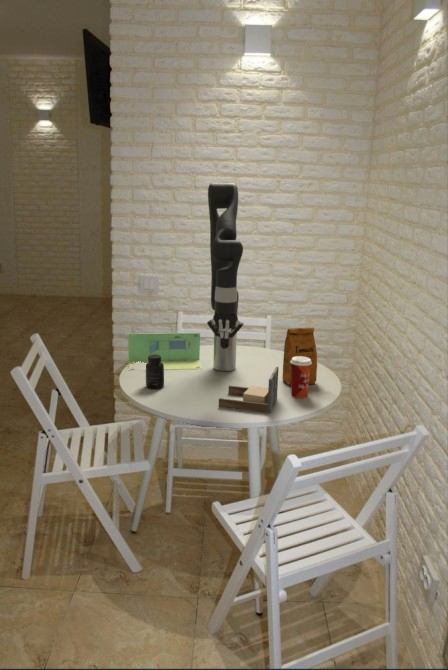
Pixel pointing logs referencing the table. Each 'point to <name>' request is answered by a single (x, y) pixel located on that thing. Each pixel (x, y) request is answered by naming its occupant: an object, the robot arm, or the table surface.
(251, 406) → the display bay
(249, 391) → the carton
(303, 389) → the paper cup
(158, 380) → the supplement bottle
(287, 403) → the table surface
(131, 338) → the display stand
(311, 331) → the coffee package
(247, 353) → the table surface
